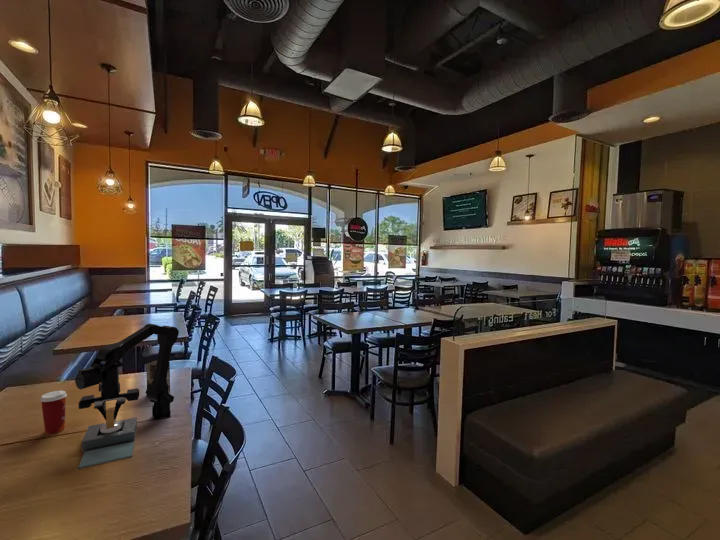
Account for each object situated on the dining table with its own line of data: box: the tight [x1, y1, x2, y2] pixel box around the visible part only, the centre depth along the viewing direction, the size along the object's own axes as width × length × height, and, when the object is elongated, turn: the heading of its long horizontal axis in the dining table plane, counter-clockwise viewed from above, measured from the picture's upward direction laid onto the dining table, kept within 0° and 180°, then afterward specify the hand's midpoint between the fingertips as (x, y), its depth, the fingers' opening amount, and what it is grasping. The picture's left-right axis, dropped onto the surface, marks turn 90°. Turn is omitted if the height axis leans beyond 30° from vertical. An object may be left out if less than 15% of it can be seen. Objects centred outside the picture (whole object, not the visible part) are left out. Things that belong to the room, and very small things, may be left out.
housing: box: [81, 417, 138, 454], centre depth 138 cm, size 16×13×4 cm
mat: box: [78, 441, 135, 469], centre depth 127 cm, size 15×10×1 cm, turn 118°
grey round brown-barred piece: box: [100, 406, 123, 435], centre depth 138 cm, size 7×7×9 cm
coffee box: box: [145, 359, 171, 394], centre depth 181 cm, size 9×6×16 cm
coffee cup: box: [39, 390, 68, 435], centre depth 144 cm, size 8×8×15 cm
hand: (111, 419), depth 138 cm, fingers closed on grey round brown-barred piece, 2 cm apart
